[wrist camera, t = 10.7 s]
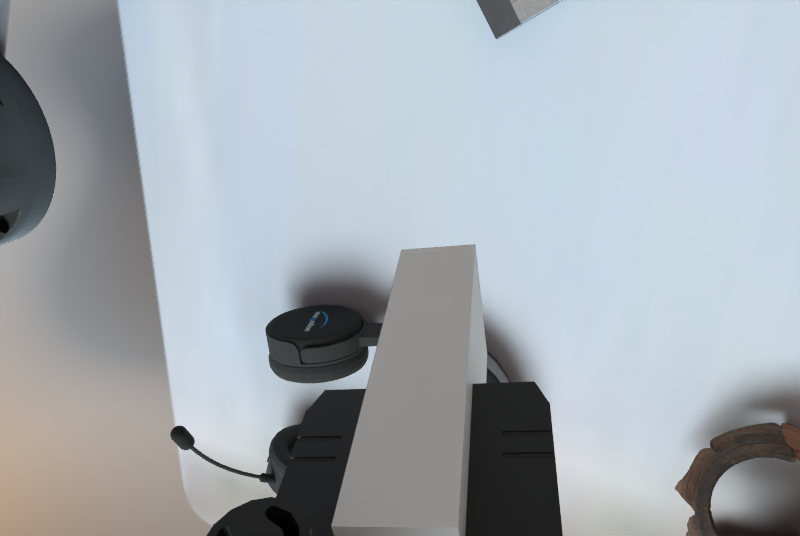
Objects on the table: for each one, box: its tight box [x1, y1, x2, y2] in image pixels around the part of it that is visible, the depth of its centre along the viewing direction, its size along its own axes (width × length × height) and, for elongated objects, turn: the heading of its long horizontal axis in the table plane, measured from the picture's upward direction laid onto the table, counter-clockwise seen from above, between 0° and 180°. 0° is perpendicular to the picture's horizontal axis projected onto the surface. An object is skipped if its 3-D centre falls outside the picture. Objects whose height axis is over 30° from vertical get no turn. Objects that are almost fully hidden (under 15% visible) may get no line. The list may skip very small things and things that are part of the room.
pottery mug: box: [675, 423, 800, 536], centre depth 37 cm, size 12×10×8 cm
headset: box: [171, 305, 510, 494], centre depth 40 cm, size 14×10×20 cm
